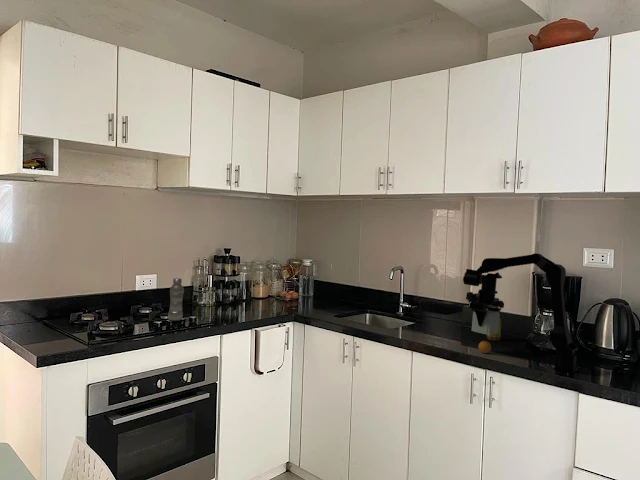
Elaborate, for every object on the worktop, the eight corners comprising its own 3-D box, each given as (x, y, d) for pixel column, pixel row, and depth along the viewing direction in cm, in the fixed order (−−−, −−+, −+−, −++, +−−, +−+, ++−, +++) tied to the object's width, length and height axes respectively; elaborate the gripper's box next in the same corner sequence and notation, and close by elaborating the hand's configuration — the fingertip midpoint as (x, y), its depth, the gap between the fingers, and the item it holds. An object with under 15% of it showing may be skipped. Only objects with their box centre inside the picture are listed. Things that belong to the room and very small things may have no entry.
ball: (485, 337, 209) (480, 347, 210) (479, 339, 205) (474, 349, 207) (495, 344, 206) (490, 354, 207) (489, 346, 202) (484, 356, 204)
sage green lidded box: (498, 333, 206) (500, 312, 206) (488, 335, 201) (490, 313, 200) (480, 329, 212) (482, 308, 212) (471, 330, 207) (473, 310, 206)
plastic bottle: (166, 319, 235) (168, 278, 235) (181, 319, 239) (183, 278, 238) (169, 322, 230) (171, 279, 229) (183, 321, 233) (186, 279, 232)
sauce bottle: (502, 340, 234) (505, 298, 233) (497, 342, 229) (499, 299, 229) (488, 337, 238) (491, 296, 238) (483, 339, 233) (486, 297, 233)
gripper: (482, 284, 218) (478, 319, 219) (459, 285, 205) (456, 323, 206) (506, 288, 210) (502, 324, 211) (484, 290, 197) (480, 328, 198)
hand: (485, 325), depth 206 cm, fingers closed on sage green lidded box, 8 cm apart
